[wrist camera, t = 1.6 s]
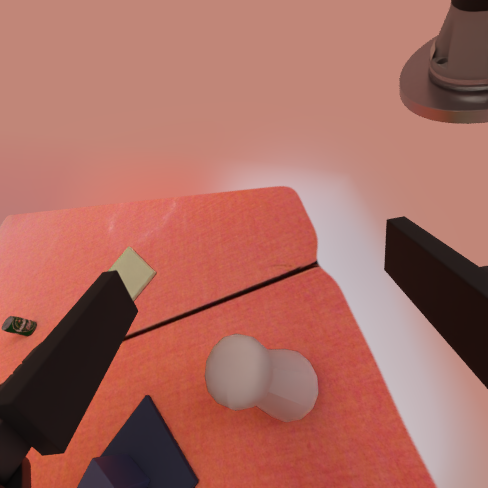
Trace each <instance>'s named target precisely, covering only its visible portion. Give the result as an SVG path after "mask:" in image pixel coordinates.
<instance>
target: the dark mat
mask: <svg viewBox="0 0 488 488" xmlns="http://www.w3.org/2000/svg"><path fill="white" fill-rule="evenodd" d="M126 453H127V454H128V455H129V456H130V457H131V458H132V460H133V461H134V462H135V463H136V464H137V465H138V467H139V468H140V469H141V470H142V471H143V472H144V474H145V475H146V476H147V477H148V478H149V479H150V482H149V484H148V486H147V488H195V486H196V485H197V483H198V479H197V477H196V476H195V474H194V472H193V470H192V469H191V467H190V465H189V463H188V462H187V460H186V458H185V456H184V455H183V453H182V451H181V449H180V448H179V446H178V444H177V443H176V441H175V439H174V437H173V436H172V434H171V432H170V430H169V429H168V427H167V425H166V423H165V422H164V420H163V418H162V416H161V415H160V413H159V411H158V410H157V408H156V406H155V404H154V403H153V401H152V399H151V397H150V396H149V395H146V396H145V397H144V399H143V400H142V401H141V403H140V404H139V405H138V407H137V408H136V409H135V411H134V412H133V413H132V415H131V416H130V417H129V419H128V420H127V421H126V423H125V424H124V425H123V427H122V428H121V429H120V431H119V432H118V433H117V435H116V436H115V437H114V439H113V440H112V441H111V443H110V444H109V445H108V447H107V448H106V450H105V451H104V452H103V454H102V455H101V456H100V457H104V456H111V455H119V454H126Z"/></svg>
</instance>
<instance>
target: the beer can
mask: <svg viewBox="0 0 488 488" xmlns="http://www.w3.org/2000/svg"><path fill="white" fill-rule="evenodd" d="M35 328H36V322H34V321H31V320H27V319H24V318H20V317H15V316H10V317H8V318H7V319H6V320H5V322H4V323H3V326H2V330H4V331H6V332H10V333H15V334H19V335H24V336H29V335H31V334H32V333H33V332H34V330H35Z"/></svg>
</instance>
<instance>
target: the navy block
mask: <svg viewBox="0 0 488 488" xmlns="http://www.w3.org/2000/svg"><path fill="white" fill-rule="evenodd" d="M149 482H150V479H149V478H148V477H147V476H146V475H145V474H144V472H143V471H142V470H141V469H140V468H139V467H138V465H137V464H136V463H135V462H134V461H133V460H132V458H131V457H130V456H129V455H128V454H127V453H126V454H119V455H111V456H104V457H97V458H93V459H92V460H91V462H90V464H89V466H88V468H87V470H86V472H85V473H84V475H83V477H82V479H81V481H80V483H79V485H78V487H77V488H147V486H148V484H149Z"/></svg>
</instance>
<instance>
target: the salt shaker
mask: <svg viewBox="0 0 488 488" xmlns="http://www.w3.org/2000/svg"><path fill="white" fill-rule="evenodd" d="M205 380H206V384H207V389H208V392H209V393H210V394H211V396H212V397H213V398H214V400H215V401H216V402H217V403H219V404H221V405H223V406H225V407H228V408H230V409H232V410H235V411H236V410H243V409H247V408H251V407H254V406H257V407H258V408H259V409H261V410H262V411H264V412H265V413H267V414H268V415H270V416H271V417H273V418H276V419H278V420H281V421H283V422H291V421H296V420H301V419H302V418H303V417H304V416H305V415H307V414H308V413H309V412H310V411H311V410H312V409H313V407H314V405H315V402H316V399H317V396H318V379H317V375H316V373H315V371H314V369H313V367H312V365H311V363H310V362H309V361H308V360H307V359H306V358H305V357H304V356H302V355H301V354H300V353H299V352H297V351H293V350H288V349H266V348H265V347H264V346H263V345H262V344H261V343H260V342H259V341H258V340H256V339H255V338H254V337H251V336H246V335H241V334H233V335H230V336H226V337H223V338H222V339H221V340H220V341H219V342H218V343H217V344H216V345H215V346H214V347H213V349H212V351H211V352H210V354H209V356H208V358H207V361H206V369H205Z"/></svg>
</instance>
